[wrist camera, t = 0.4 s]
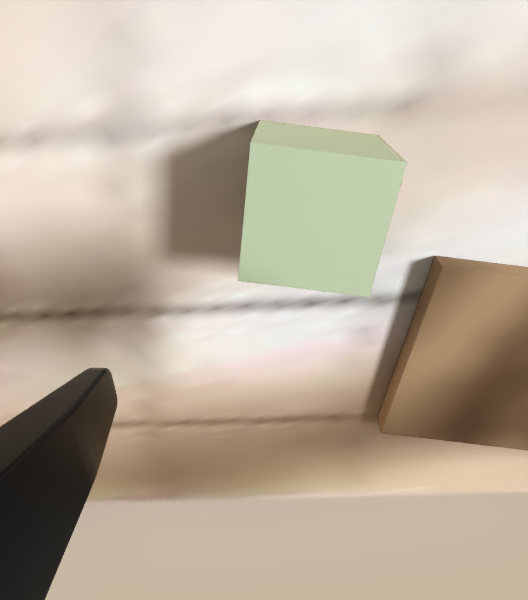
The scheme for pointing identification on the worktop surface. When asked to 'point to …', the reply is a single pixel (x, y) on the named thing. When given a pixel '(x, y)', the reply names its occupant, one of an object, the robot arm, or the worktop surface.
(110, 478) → the worktop surface
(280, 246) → the sage cube
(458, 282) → the walnut board
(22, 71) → the worktop surface
